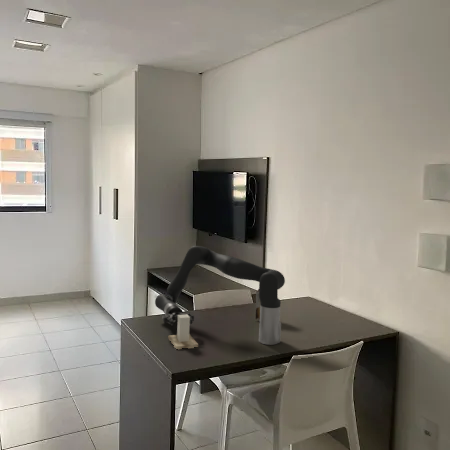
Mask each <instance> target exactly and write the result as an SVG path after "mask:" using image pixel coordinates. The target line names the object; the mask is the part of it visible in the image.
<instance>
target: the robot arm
mask: <svg viewBox="0 0 450 450" xmlns="http://www.w3.org/2000/svg"><path fill="white" fill-rule="evenodd" d="M196 265H204V266H209V267H212V268H215V269H217V270H218V271H220V272H221V273H222V274H224V275H226V276H229V277H232V278H233V279H234V278H235V279H239V280H246V281H253V282H254V281H255V282H258V289H259V299H260V321H259V323H258V324H259V325H258V326H259V327H258V343H260V344H263V345H268V346H270V345H271V346H273V345H277V344H280V343H281V337H282V335H281V334H282V322H281V320H280V319H281V300H280V298H279V297H278V296H279V295H278V291H279V290H280V289H281V288H283V286H284V285H285V283H286V279H285V276H284V274H283V273H282V272H280V271H278V270H276V269H271V268H267V267H262V266H259V265H256V264H254V263H251V262H248V261H246V260H244V259H240V258H238V257H234V256H230V255H227V254H221V253H218V252H216V251H213V250H211V249H210V248H208V247H205V246H202V245H192V246H191V247H189V249H188V250H187V252H186V253H185V256H184V257H183V261H182V262H181V265H180V266H179V268H178V271H177V272H176V274H175V276H174V278H173V279H172V280H171V282H170V283H169V284H168V287H167V288H166V292H167V294H168V295H169V296H167V295H165V294H163V293H162V294H159V295H157V296H156V297H155V299H154V304H155V307H156V308H158V310H161V311H162V313H163V314H162V316H161V317H162V319H161V320H162V322H163V324H167V323H168V324H169V325H171V326H174V323H177V322H178V315H186V314H187V315H188V316H189V317H190V325H192V324H193V322H194V321H195V315H194V314H193V313H191V312H187V313H185V312H184V311H183V310H182V308H180V306H179V305H177V304H176V303H177V301H178V298H179V296H180V294H181V293H182V291H183V290H184V288H185V287H186V286H187V283H188V278H189V275H190V273H191V271H192V270H193V268H194V267H195V266H196ZM170 296H171V297H170Z"/></svg>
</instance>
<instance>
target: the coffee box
mask: <svg viewBox="0 0 450 450" xmlns="http://www.w3.org/2000/svg"><path fill="white" fill-rule="evenodd" d="M255 293H256V294H255V316H254V317H255V320H254V321H255V322H260V299H259V288H258V289H257V291H256V292H255Z"/></svg>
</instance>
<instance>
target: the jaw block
mask: <svg viewBox="0 0 450 450" xmlns="http://www.w3.org/2000/svg"><path fill="white" fill-rule="evenodd" d="M185 314H186V315H178V322H176V323H177V326H176V328H177V330H176V335H177V339H178V341H179V342H184V341H189V334H190V325H191V324H190V317H189V316H188V315H187V314H188V313H185Z"/></svg>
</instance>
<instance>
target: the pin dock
mask: <svg viewBox="0 0 450 450" xmlns="http://www.w3.org/2000/svg"><path fill="white" fill-rule="evenodd" d="M167 337H168V340H169V342H170V341H171V342H170V343H171V344H173V345H174V346H173V345H172V346H173V347H174V349H175V348H176V349H178V350H183V349H182V348H188V349H195V348H194V347H198V348H199V343H198V342H197V341H196V340H195V339H194V337H192V335H191V334H190V333H189V341H184V342H179V341H178V339H177V334H172V335H171V334H170V335H168V336H167ZM176 349H175V350H176Z"/></svg>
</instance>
